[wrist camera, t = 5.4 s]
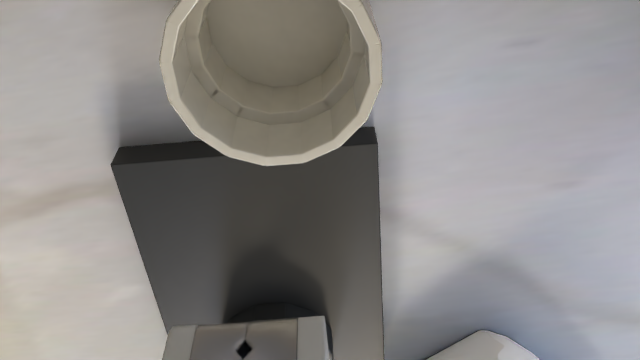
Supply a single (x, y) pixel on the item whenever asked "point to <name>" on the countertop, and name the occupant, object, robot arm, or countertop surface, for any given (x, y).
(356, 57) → the small bowl
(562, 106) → the countertop surface
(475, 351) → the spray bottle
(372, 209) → the scale
